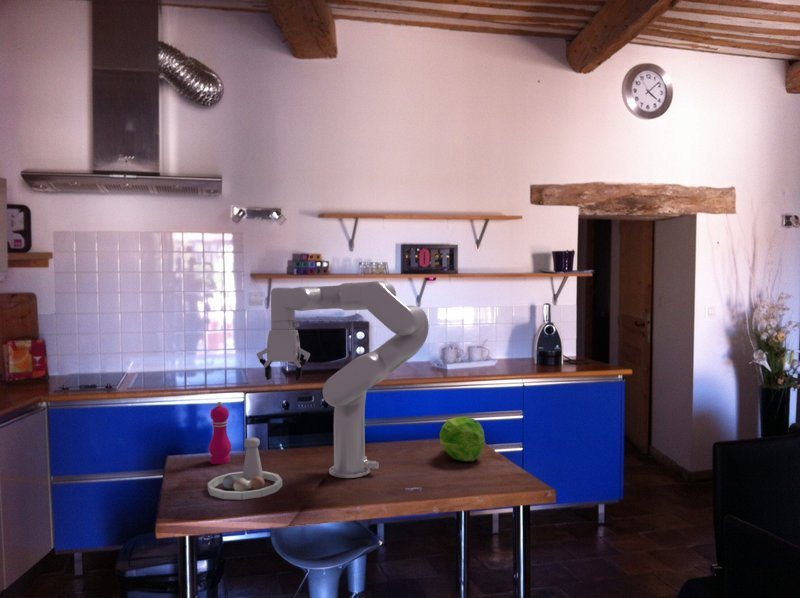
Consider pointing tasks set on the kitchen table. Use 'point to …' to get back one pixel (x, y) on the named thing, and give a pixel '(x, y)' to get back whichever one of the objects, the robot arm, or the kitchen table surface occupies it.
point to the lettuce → (462, 438)
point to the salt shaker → (252, 459)
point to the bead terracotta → (257, 483)
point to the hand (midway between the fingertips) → (283, 379)
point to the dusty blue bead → (229, 481)
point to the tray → (245, 493)
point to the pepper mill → (220, 436)
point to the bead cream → (240, 485)
